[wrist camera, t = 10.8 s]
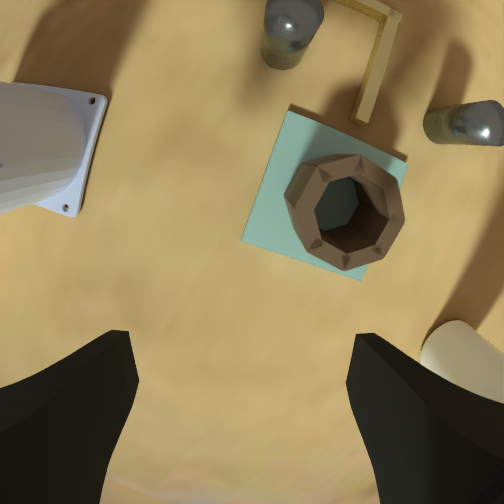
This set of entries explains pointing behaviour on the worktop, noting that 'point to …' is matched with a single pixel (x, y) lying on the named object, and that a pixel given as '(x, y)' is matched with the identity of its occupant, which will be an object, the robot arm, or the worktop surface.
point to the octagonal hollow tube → (363, 219)
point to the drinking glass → (465, 359)
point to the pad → (332, 200)
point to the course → (374, 69)
